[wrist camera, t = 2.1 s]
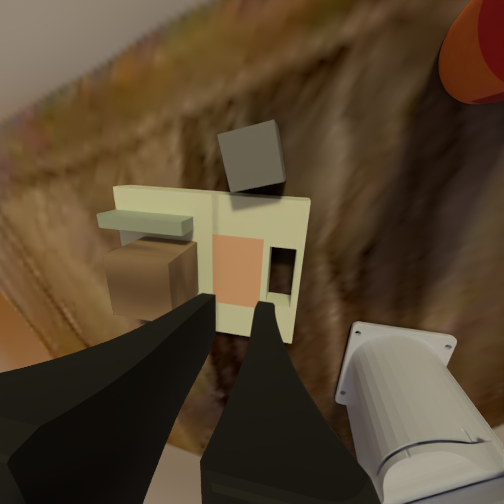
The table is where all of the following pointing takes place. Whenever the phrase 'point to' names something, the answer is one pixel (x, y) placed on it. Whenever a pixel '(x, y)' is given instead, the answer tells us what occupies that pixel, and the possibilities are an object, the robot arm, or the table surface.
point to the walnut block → (151, 276)
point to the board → (222, 243)
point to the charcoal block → (253, 156)
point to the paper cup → (475, 54)
